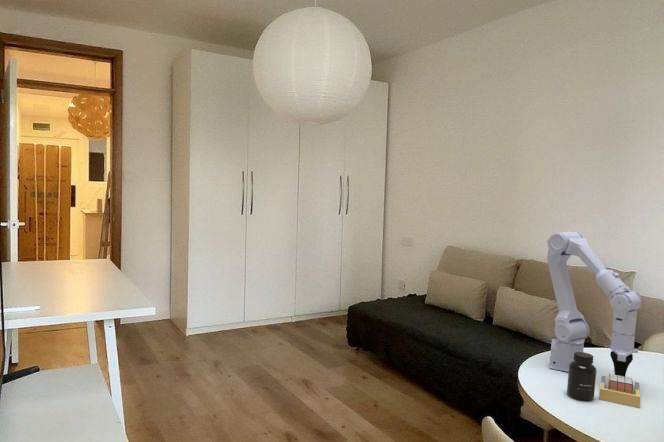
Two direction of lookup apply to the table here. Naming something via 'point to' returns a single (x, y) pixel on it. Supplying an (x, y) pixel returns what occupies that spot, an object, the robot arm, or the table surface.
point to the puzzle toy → (620, 383)
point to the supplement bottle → (581, 377)
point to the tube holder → (620, 395)
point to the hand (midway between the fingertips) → (619, 377)
